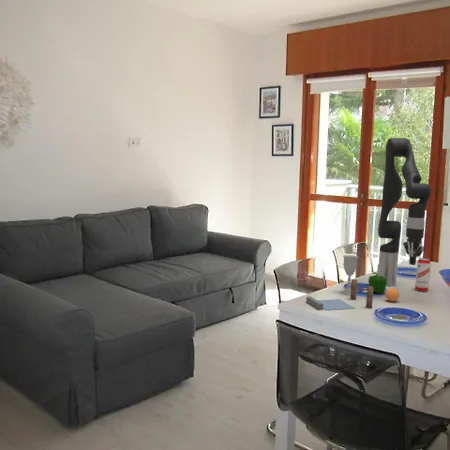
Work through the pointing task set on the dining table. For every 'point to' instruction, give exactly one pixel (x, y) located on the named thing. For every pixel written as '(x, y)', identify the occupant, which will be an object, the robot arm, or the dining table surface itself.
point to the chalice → (349, 269)
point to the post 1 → (353, 289)
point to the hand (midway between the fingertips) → (412, 264)
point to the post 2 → (369, 297)
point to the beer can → (422, 275)
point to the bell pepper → (377, 283)
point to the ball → (392, 294)
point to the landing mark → (335, 304)
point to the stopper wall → (314, 303)
